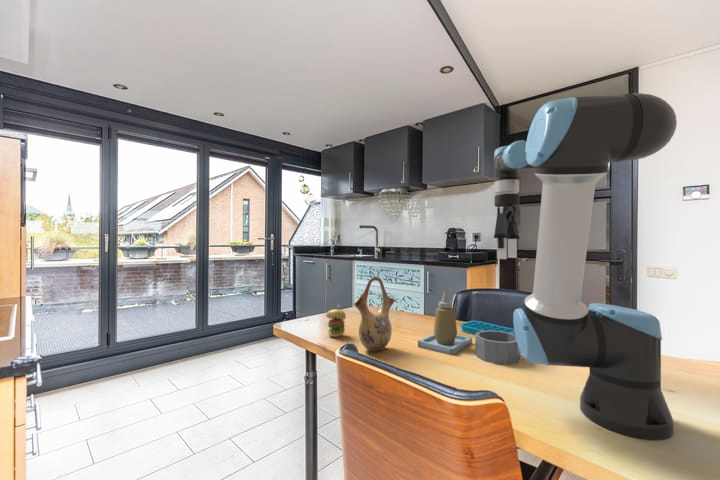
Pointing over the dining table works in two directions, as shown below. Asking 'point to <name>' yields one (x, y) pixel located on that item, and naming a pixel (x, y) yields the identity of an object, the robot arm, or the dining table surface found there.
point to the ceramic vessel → (374, 320)
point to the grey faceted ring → (497, 347)
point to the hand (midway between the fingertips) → (507, 258)
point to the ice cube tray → (483, 327)
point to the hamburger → (336, 322)
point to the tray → (450, 349)
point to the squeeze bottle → (445, 322)
